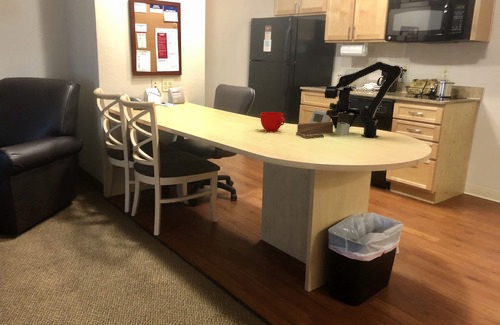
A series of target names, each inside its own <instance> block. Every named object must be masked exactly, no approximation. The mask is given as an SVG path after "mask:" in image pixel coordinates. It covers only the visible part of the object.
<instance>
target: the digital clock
mask: <svg viewBox="0 0 500 325" xmlns="http://www.w3.org/2000/svg"><path fill="white" fill-rule="evenodd" d="M326 112H327V110H322V109H321V110H320V109H313V111H312V114H311V116H310V120H309V123H320V122H331V121H332V119H331V118H330V117H329V116H328V115H326Z"/></svg>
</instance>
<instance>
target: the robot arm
mask: <svg viewBox="0 0 500 325" xmlns="http://www.w3.org/2000/svg"><path fill="white" fill-rule="evenodd" d="M377 71H381V72H383V73H387V74H386V77H385V79H384V82H383V84H382V86H381V87H380V89H379V91H378V92H377V93H376V95H375V96H374V98H373V100H372V101H371V103H370V105H369V106H368V105H366V106H365V107H364V108H363V111H361V109H360V108H357V107H356V108H351V107H350V104H352V101H351V100H350V99H351V92H354V91H355V89H354V88H353V86H350V85H352V84H353V83H354V82H356V81H357V80H359V79H361V78H364V77H365V76H368V75H370V74H372V73H375V72H377ZM402 73H403V69H402V66H400V65H396V64H395V65H391V64H388V63H385V62H382V61H381V60H380V61H379V60H378V61H376V62H375V63H373V64H371V65H368V66H367V67H365V68H362V69H360V70H358V71H356V72H352V73H348V74H345V75H344V74H343V75H342V76H341V77H340V78H339V79H338V83H337V84H336V85H335V86H334V85H333V86H332V85H326V86H325V91H324V98H325V99H330V100H331V99H333V100H335V99H337V98H338V100H337V101H336V103H334V102H330V103H329V109H326V111H327V112H326V115H328V116H329V117H330V118H331V122H333V129H334V130H335V129H336V128H337V123H339V116H338V115H345V114H346V115H348V124H350V127H349V128H351V127H352V126H353V123H354V122H355V120H356V118H357V117H359V115H360V119H361V122H363V124H364V125H363V126H364V127H363V134H360V135H361V136H362V137H365V138H379V135H377V130H378V126H377V123H378V122H379V120H378V119H377V118H376V117H375V115H376V113H377V110H378V107H379V106H380V104H381V103H382V101H383V99H384V98H385V96H386V94H387V92H388V91H390V90H389V89H390V88H391V87H392V85H393V84H394V82H395V81H396V80H398V78H399V77H400V76H401V75H402ZM348 86H349V87H348ZM341 88H342V89H341Z"/></svg>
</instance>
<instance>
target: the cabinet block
mask: <svg viewBox="0 0 500 325" xmlns="http://www.w3.org/2000/svg"><path fill="white" fill-rule="evenodd" d="M350 128H351V127H350V124H349V123H347V122H345V121H340V122H338V123H337V128H336V129H335V128H334V134H335V135H338V136H341V137H342V136H349V135H350Z"/></svg>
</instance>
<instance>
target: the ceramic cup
mask: <svg viewBox="0 0 500 325" xmlns="http://www.w3.org/2000/svg"><path fill="white" fill-rule="evenodd" d="M259 114H260V115H259V116H260V118H259V120H260V124H261V126H262V128H263V129H264V131H265V132H269V133H275V132H278V130H279V129H280V128H281V127H282V126H284V125H285V123H286V119H285V117H284V113H282V112H277V111H264V112H260V113H259Z"/></svg>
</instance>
